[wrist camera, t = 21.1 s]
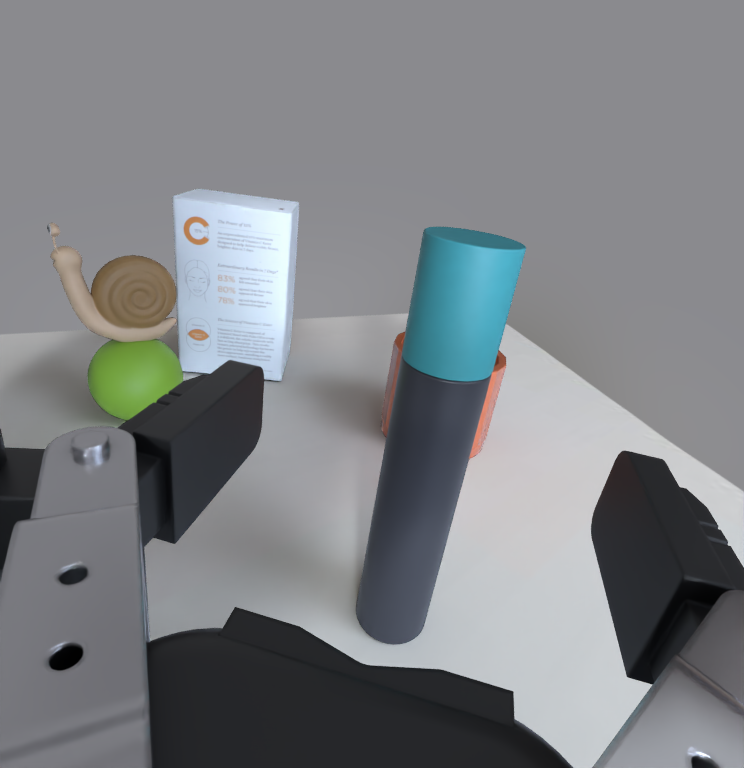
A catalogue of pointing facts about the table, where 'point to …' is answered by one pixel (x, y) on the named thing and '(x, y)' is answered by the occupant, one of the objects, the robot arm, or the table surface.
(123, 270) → the snail figurine
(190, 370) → the small box
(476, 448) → the pen cup
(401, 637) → the marker pen
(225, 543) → the table surface
